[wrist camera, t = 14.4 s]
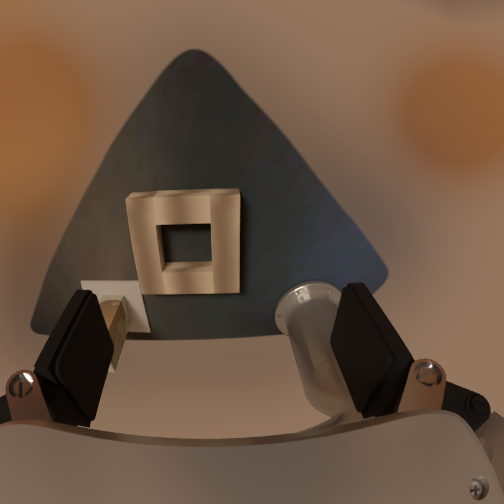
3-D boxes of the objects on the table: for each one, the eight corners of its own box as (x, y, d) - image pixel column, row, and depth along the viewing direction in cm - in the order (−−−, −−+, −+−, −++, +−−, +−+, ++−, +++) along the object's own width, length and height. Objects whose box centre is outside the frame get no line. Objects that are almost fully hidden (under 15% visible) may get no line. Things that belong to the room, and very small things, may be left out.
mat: (139, 280, 44) (138, 282, 44) (150, 330, 49) (150, 332, 49) (81, 280, 43) (80, 281, 43) (97, 328, 48) (97, 330, 48)
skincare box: (132, 322, 47) (116, 374, 37) (110, 321, 47) (91, 372, 36) (123, 293, 44) (102, 345, 34) (101, 293, 44) (76, 343, 33)
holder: (238, 188, 39) (240, 194, 36) (238, 281, 46) (239, 292, 43) (131, 192, 37) (125, 199, 35) (145, 283, 44) (141, 294, 42)
